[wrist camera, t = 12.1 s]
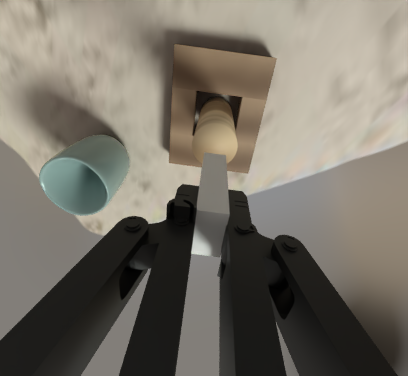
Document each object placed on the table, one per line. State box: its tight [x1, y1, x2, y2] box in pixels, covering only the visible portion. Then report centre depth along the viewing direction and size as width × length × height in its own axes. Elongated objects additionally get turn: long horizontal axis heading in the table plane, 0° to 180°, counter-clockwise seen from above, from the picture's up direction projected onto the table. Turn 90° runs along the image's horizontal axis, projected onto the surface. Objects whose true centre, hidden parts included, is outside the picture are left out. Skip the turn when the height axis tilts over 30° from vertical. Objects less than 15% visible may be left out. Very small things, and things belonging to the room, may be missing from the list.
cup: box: [39, 134, 130, 216], centre depth 30 cm, size 8×8×10 cm
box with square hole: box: [169, 44, 277, 173], centre depth 30 cm, size 14×11×2 cm
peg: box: [192, 97, 238, 164], centre depth 26 cm, size 4×4×12 cm
